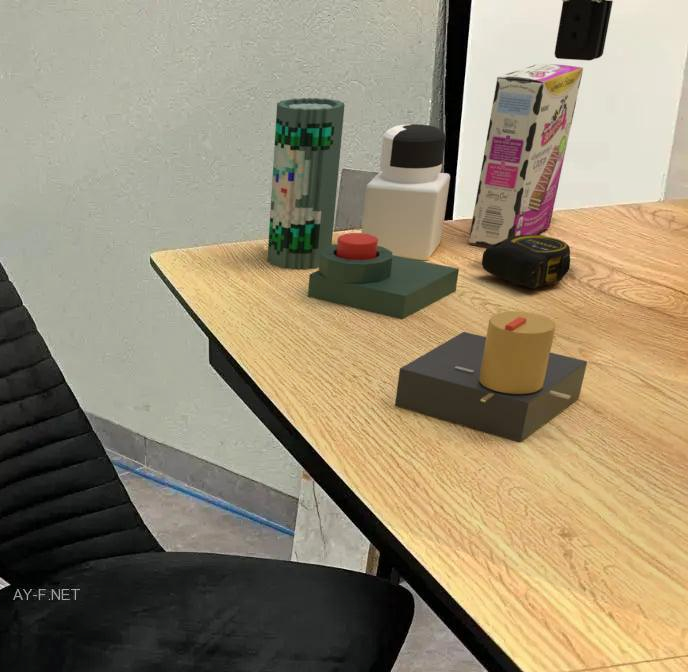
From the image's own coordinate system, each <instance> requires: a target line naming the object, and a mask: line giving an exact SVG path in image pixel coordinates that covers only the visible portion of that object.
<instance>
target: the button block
mask: <svg viewBox="0 0 688 672" xmlns="http://www.w3.org/2000/svg"><path fill="white" fill-rule="evenodd" d="M336 254H337V243H336V244H332V245H330V246H328V247H326V248H323V249H322V250H321V254H320V264H319V268H318V270H316V271H314V272H312V273H309V277H308V288H307V297H308V298H310V299H311V298H312V299H316V300H319V301H325V302H329V303H332V304H337V305H341V306H344V307H349V308H354V309H357V310H362V311H366V312H369V313H375V314H378V315H381V316H382V315H383V316H387V317H391V318H395V319H399V320H404V319H406V318H407V317H409V316H411V315H413V314H415V313H417V312H419V311H421V310H422V309H425V308H427V307H429V306H430V305H432V304H434V303H436V302H438V301H440V300H442V299H444V298H445V297H448V296H449V295H451V294H453V293H455V292H456V291H457V284H458V277H459V271H460V270H459V269H460V268H457V267H454V266H453V267H452V266H448V265H444V264H438V263H433V262H428V261H424V260H414V259H409V258H404V257H399V256H394V255H392V252H391V251H389V250H388V249H386V248H384V247H381V246H377V253H376V258H374V259H367V260H349V259H344V258H339V257H337V256H336Z"/></svg>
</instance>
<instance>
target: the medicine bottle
mask: <svg viewBox="0 0 688 672" xmlns="http://www.w3.org/2000/svg"><path fill="white" fill-rule="evenodd" d="M446 138H447V135H446V133H445V131H444V130H442V129H440V128H438V127H436V126H434V125H429V124H418V123H409V124H399V125H395V126H393V127H390V128H388V129H387V130H386V131H385V132H384V133H383V135H382V144H381V154H380V162H379V163H380V164H379V170H380V171H379V172H378V173H377V174H376V175H375V176H374V177H373V178H372V179H371V180H370V181H369V182H368V183H366V187H365V197H364V204H363V205H364V206H363V215H362V222H361V223H362V225H361V233H363V234H369V235H373V236H375V237H377V238H378V244H377V246H381V247H384V248H386V249H388V250H389V251H391V252H392V255H394V256H399V257H404V258H409V259H414V260H419V261H423V262H428V260H430V258H431V256H433V254H434V252H435V251H436V249H437V248H438V246H439V245H440V244H441V241H442V236H443V231H444V222H445V216H446V211H447V202H448V197H449V196H448V195H449V189H450V183H451V182H450V181H451V175H450V173H447V172H446V173H445V172H442V168H443V160H444V153H445V146H446Z"/></svg>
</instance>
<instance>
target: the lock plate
mask: <svg viewBox="0 0 688 672" xmlns="http://www.w3.org/2000/svg"><path fill="white" fill-rule="evenodd" d="M485 341H486V336H484V335H479V334H476V333H475V334H474V333H471V332H466V331H462V332H461V333H459V334H457V335H456V336H454V337H452V338H450V339H449V340H447V341H445V342H443V343H441V344H439V345H438V346H436V347H435V348H433V349H430V350H429V351H428V352H426V353H424V354H423V355H421V356H419V357H417V358H416V359H414V360H412V361H410V362H409V363H406V364H405V365H403V366H402V367H400V368H399V371H398V372H399V373H398V380H397V388H396V393H395V400H394V401H395V402H394V406H395V407H399V408H402V409H406V410H408V411H412V412H415V413H419V414H423V415H426V416H428V417H429V416H430V417H432V418H437V419H440V420H443V421H447V422H449V423H453V424H456V425H461V426H463V427H468V428H470V429H474V430H478V431H481V432H485V433H488V434H492V435H495V436H499V437H502V438H505V439H508V440H512V441H516V442H520V443H521V442H522V441H524V440H525V439H526V438H528V437H529V436H531V435H532V434H533V433H535V432H536V431H538V430H539V429H540V428H541V427H543V426H544V425H545V424H546V423H548V422H549V421H551V420H552V419H553V418H555V417H556V416H557V415H559V414H560V413H561V412H563V411H564V410H565V409H568V407H569V406H570V405H572V404H573V403H574V402H577V400H579V399H580V396H581V391H582V386H583V382H584V377H585V372H586V370H587V364H588V361H587V360H584V359H579V358H576V357H571V356H567V355H564V354H559V353H554V352H550V356H549V360H548V365H547V370H546V375H545V379H544V384H543V387H542V388H541V389H540V390H539V391H536V392H533V393H529V394H508V393H502V392H497V391H494V390H491V389H489V388H487V387H485V386H483V385H482V384H481V383H480V381H479V375H480V369H481V364H482V358H483V352H484V347H485Z"/></svg>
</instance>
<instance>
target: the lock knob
mask: <svg viewBox="0 0 688 672" xmlns="http://www.w3.org/2000/svg"><path fill="white" fill-rule="evenodd" d="M556 327H557V325H556V322H555V321H554V320H553V319H552V318H550V317H548V316H545V315H542V314H538V313H534V312H529V311H515V310H514V311H511V310H510V311H503V312H502V311H501V312H498V313H495V314H493V315H491V316H490V317H489V319H488V325H487V330H486V336H485V337H486V341H485V347H484V352H483V358H482V364H481V369H480V375H479V381H480V383H481V384H482V385H483V386H485V387H487V388H489V389H491V390H494V391H497V392H502V393H508V394H529V393H533V392H536V391H539V390H540V389H541V388H542V387H543V384H544V379H545V375H546V370H547V365H548V360H549V356H550V353H551V352H552V351H551V350H552V346H553V342H554V336H555V332H556Z"/></svg>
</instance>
